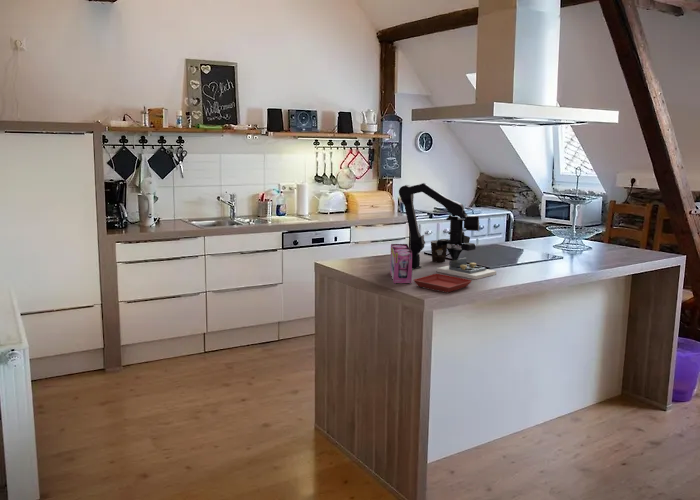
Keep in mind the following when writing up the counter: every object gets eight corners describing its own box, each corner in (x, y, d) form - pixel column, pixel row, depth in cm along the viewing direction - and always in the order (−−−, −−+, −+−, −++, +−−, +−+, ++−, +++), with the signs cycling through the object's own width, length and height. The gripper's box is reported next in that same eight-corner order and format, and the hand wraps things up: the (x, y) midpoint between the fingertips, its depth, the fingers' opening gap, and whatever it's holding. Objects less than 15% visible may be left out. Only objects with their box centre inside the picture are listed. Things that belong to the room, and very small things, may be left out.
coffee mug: (427, 261, 314) (428, 242, 312) (433, 259, 321) (434, 239, 320) (449, 264, 309) (450, 244, 307) (455, 261, 316) (456, 241, 314)
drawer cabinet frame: (470, 273, 281) (470, 264, 280) (449, 269, 289) (449, 260, 289) (486, 269, 289) (486, 261, 288) (464, 265, 297) (465, 257, 297)
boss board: (475, 279, 277) (475, 270, 276) (436, 271, 292) (436, 262, 292) (496, 274, 287) (496, 265, 287) (457, 266, 303) (457, 258, 302)
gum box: (412, 284, 265) (413, 253, 263) (393, 284, 265) (394, 253, 263) (406, 272, 289) (407, 243, 286) (389, 272, 289) (390, 243, 286)
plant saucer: (472, 287, 263) (472, 279, 263) (448, 295, 250) (449, 287, 249) (436, 280, 275) (436, 273, 274) (412, 287, 262) (412, 279, 261)
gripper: (483, 230, 290) (481, 263, 293) (450, 226, 303) (449, 257, 306) (468, 232, 282) (467, 266, 285) (436, 228, 296) (435, 260, 299)
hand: (455, 262), depth 294 cm, fingers closed
